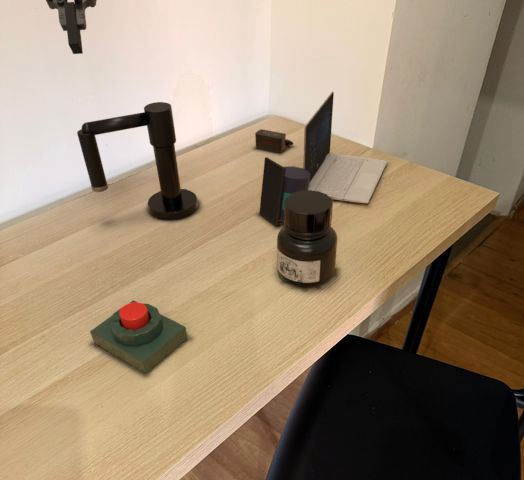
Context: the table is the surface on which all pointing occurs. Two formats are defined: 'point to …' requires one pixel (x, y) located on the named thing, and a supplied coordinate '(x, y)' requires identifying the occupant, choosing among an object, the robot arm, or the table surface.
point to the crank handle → (153, 117)
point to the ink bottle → (307, 240)
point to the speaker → (280, 188)
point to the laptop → (337, 162)
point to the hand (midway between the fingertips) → (75, 48)
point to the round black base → (170, 189)
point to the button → (134, 316)
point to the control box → (140, 339)
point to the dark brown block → (271, 140)
